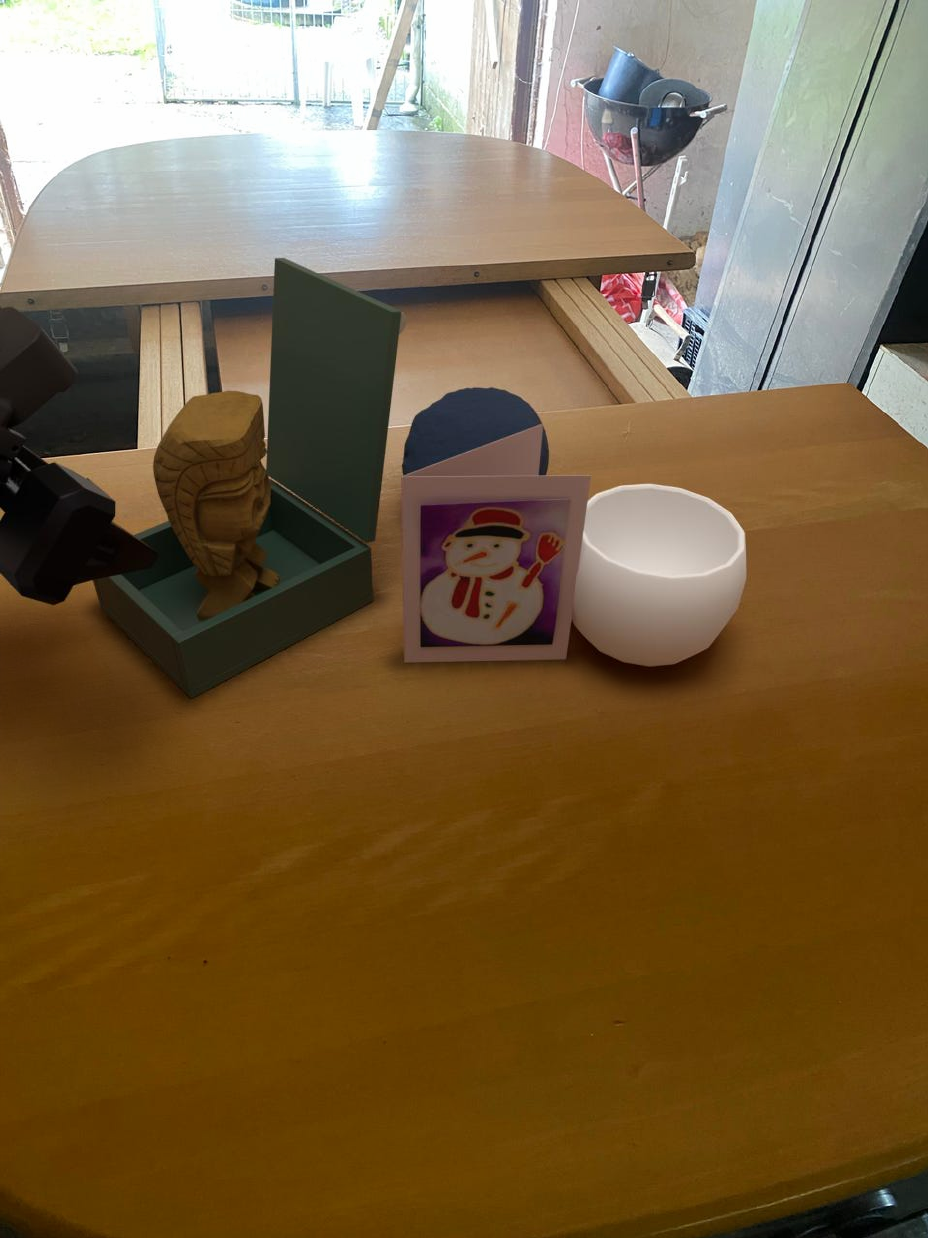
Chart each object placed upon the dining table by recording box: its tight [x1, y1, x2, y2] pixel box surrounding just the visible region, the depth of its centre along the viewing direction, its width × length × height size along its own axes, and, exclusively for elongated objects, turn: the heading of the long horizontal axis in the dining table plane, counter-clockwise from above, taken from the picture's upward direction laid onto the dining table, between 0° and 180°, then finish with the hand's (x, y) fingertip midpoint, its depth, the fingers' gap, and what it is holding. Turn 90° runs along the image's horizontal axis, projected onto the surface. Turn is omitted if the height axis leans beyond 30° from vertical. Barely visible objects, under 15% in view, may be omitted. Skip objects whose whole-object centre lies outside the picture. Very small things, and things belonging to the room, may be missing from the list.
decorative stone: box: [401, 386, 550, 476], centre depth 76 cm, size 12×12×10 cm
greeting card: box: [400, 423, 592, 664], centre depth 62 cm, size 11×7×15 cm, turn 94°
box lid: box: [265, 257, 407, 544], centre depth 66 cm, size 16×13×4 cm
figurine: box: [152, 390, 280, 620], centre depth 63 cm, size 7×6×15 cm
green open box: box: [92, 478, 374, 699], centre depth 67 cm, size 16×13×5 cm
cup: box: [571, 483, 747, 667], centre depth 64 cm, size 12×12×10 cm
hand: (116, 527), depth 57 cm, fingers open, 9 cm apart
